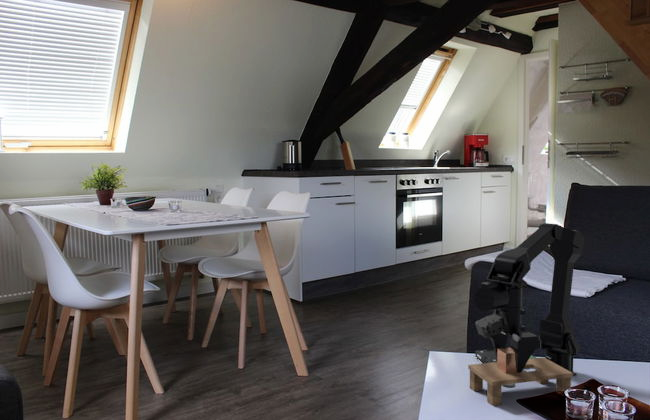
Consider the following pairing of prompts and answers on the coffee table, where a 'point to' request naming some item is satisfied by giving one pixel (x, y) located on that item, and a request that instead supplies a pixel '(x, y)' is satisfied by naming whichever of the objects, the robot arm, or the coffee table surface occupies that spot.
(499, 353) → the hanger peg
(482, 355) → the disk drive
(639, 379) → the coffee table surface
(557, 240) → the robot arm
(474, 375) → the wooden slotted stool
